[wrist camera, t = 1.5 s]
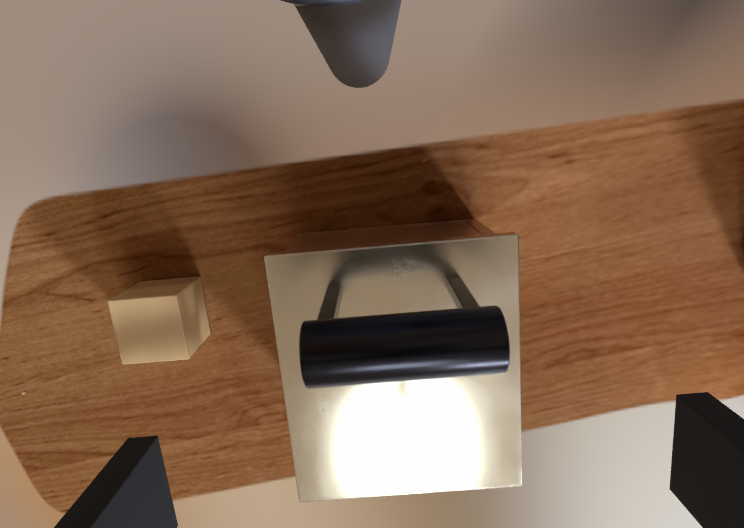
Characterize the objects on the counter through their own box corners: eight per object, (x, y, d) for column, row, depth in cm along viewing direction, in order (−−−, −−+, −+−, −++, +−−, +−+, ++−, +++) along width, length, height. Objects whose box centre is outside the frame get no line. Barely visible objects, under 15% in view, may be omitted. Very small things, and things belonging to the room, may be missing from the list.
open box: (297, 233, 34) (269, 267, 25) (474, 218, 34) (514, 246, 24) (319, 404, 37) (301, 492, 28) (480, 391, 37) (517, 476, 28)
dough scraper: (266, 252, 24) (206, 314, 16) (514, 231, 24) (597, 282, 15) (301, 493, 28) (267, 656, 19) (518, 477, 28) (587, 635, 19)
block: (139, 281, 35) (106, 300, 31) (200, 276, 35) (176, 294, 31) (151, 338, 36) (121, 364, 32) (210, 333, 36) (188, 359, 32)
